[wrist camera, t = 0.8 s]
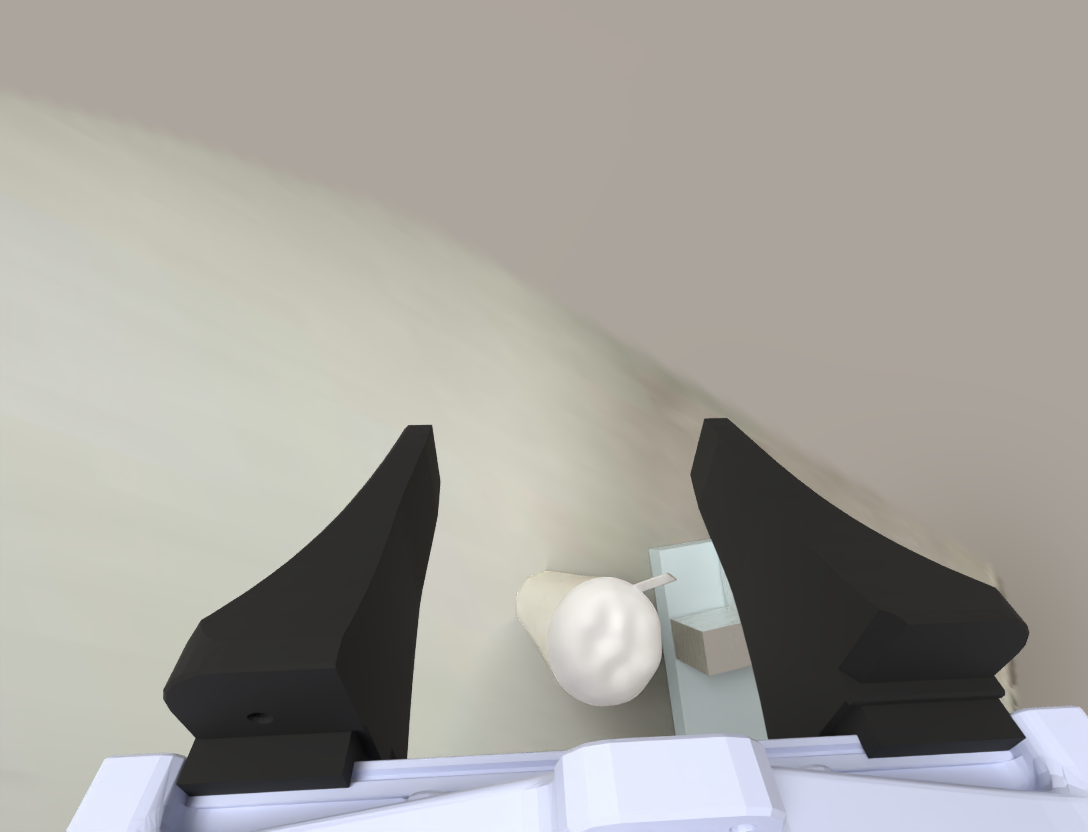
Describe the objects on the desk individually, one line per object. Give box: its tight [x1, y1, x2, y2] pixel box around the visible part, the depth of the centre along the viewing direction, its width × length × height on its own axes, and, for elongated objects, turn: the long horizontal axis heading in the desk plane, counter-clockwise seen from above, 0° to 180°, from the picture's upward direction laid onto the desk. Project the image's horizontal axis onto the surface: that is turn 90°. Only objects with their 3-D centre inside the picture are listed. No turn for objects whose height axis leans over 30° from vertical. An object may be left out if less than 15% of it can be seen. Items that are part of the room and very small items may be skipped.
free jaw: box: [670, 560, 752, 676], centre depth 27 cm, size 6×10×5 cm, turn 97°
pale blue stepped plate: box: [649, 538, 768, 740], centre depth 28 cm, size 19×10×4 cm, turn 7°
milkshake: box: [516, 570, 677, 706], centre depth 23 cm, size 4×5×10 cm
